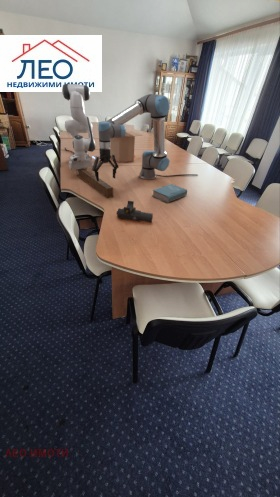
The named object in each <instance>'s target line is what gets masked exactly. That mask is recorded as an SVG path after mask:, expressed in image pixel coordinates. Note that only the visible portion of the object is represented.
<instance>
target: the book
mask: <svg viewBox="0 0 280 497" xmlns="http://www.w3.org/2000/svg"><path fill="white" fill-rule="evenodd" d="M187 195H188V189H186V188H184V187H181V186H178V185H176V184H174V183H170V184H167V185H163V186H161V187H158V188H155V189H152V197H153V198H155V199H158V200H160V201H162V202H165V203H167V204H168V203H171V202H173V201H176V200H178V199H181V198H183V197H186V196H187Z"/></svg>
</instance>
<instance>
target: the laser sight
mask: <svg viewBox="0 0 280 497" xmlns="http://www.w3.org/2000/svg"><path fill="white" fill-rule="evenodd" d="M126 204H127V205H126V206H124V207H122V208H121V207H119V208H118V209H117V210H116V217H117V218H118V219H121V220H126V221H131V222H145V223H152V222H153V218H154V213H151V212H144V211H141V210H139V209H136V207H134V204H135V202H134V201H133V200H127V203H126Z"/></svg>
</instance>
